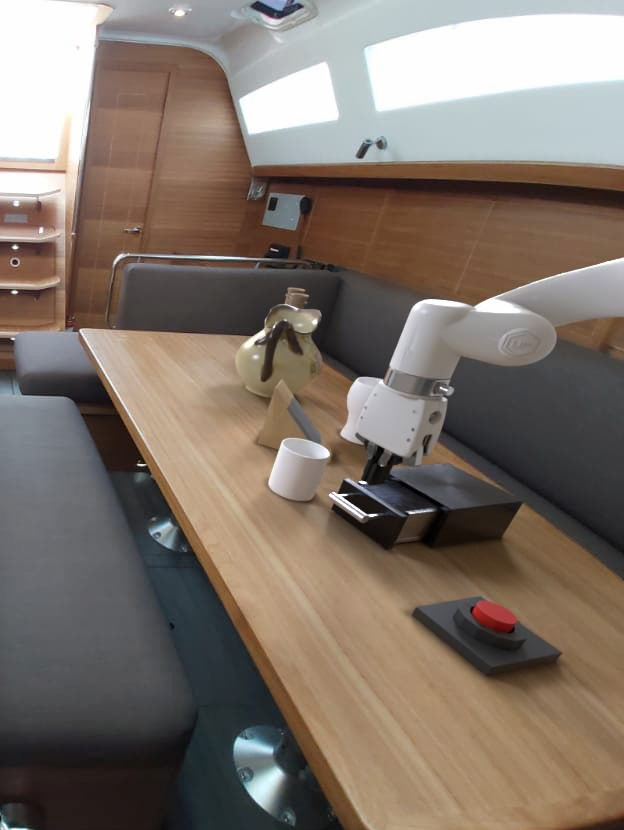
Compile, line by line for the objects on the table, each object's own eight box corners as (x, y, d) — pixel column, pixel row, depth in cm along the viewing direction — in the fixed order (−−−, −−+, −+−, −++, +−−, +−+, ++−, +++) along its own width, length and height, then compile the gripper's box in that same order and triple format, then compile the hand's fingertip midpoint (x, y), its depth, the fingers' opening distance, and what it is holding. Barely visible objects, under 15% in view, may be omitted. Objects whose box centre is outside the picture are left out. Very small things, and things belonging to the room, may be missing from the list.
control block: (473, 606, 75) (486, 586, 73) (553, 664, 66) (570, 643, 64) (409, 617, 73) (421, 597, 71) (484, 678, 64) (499, 657, 62)
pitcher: (286, 380, 161) (310, 303, 150) (329, 411, 139) (362, 324, 129) (216, 377, 161) (236, 300, 150) (249, 407, 140) (275, 320, 129)
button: (486, 608, 70) (492, 598, 69) (518, 631, 66) (525, 621, 66) (464, 611, 69) (469, 602, 68) (495, 635, 66) (502, 625, 65)
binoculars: (259, 352, 187) (279, 285, 177) (289, 356, 184) (311, 288, 173) (262, 368, 170) (283, 295, 160) (295, 373, 167) (319, 299, 156)
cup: (359, 452, 118) (383, 394, 112) (322, 431, 128) (342, 377, 121) (394, 448, 121) (420, 391, 114) (355, 428, 130) (377, 375, 123)
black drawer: (362, 553, 84) (377, 520, 81) (308, 511, 94) (320, 481, 91) (453, 540, 88) (471, 508, 85) (392, 502, 98) (407, 472, 95)
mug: (265, 468, 110) (279, 427, 105) (308, 478, 107) (324, 436, 102) (268, 496, 100) (283, 452, 95) (315, 508, 97) (333, 462, 92)
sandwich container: (331, 467, 111) (355, 407, 105) (256, 445, 119) (274, 388, 113) (334, 453, 117) (357, 395, 111) (263, 433, 126) (281, 378, 119)
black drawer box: (429, 550, 86) (452, 509, 83) (365, 507, 98) (382, 469, 94) (499, 541, 90) (524, 500, 86) (429, 499, 101) (448, 462, 97)
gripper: (486, 399, 71) (433, 505, 79) (389, 364, 84) (352, 458, 92) (444, 402, 70) (395, 510, 78) (352, 367, 83) (318, 461, 91)
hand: (372, 481), depth 85 cm, fingers closed
